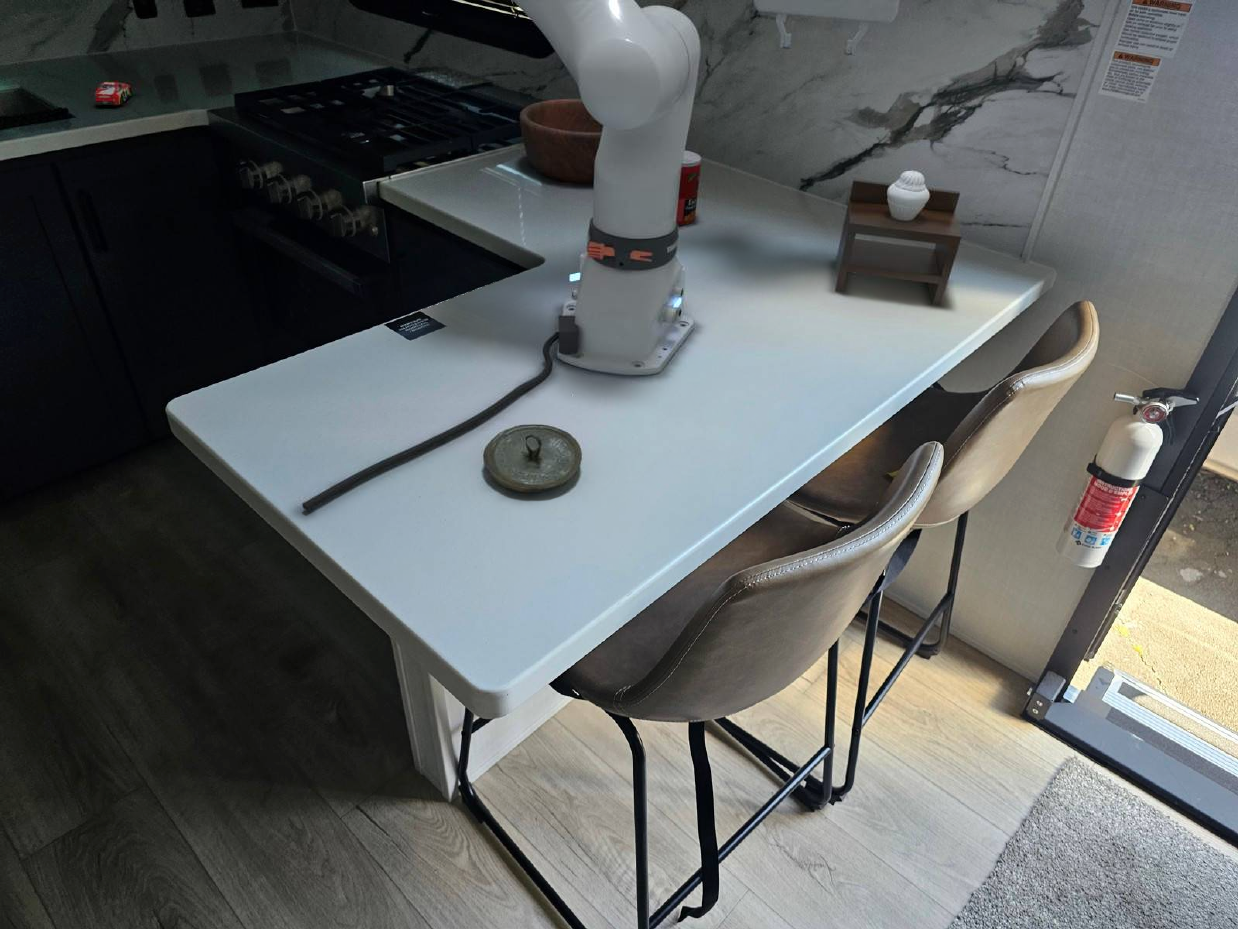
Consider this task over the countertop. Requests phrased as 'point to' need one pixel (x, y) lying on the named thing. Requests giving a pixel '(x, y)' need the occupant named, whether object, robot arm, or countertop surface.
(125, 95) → the race car
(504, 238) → the countertop surface
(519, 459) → the lid
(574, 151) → the wooden bowl
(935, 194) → the shelf
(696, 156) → the canned food
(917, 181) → the muffin
